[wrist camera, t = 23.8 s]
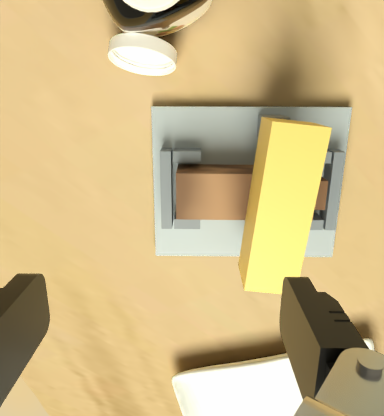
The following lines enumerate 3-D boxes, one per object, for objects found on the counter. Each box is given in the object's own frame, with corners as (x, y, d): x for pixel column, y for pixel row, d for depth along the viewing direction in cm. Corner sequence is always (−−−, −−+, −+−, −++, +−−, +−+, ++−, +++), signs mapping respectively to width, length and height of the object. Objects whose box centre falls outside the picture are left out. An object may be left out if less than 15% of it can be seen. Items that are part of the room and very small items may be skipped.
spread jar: (196, -64, 36) (195, -131, 25) (229, 53, 40) (241, 38, 28) (86, -19, 38) (39, -65, 27) (126, 90, 41) (100, 89, 30)
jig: (156, 251, 47) (151, 273, 41) (152, 106, 41) (145, 108, 36) (328, 253, 46) (347, 275, 41) (347, 106, 41) (372, 109, 35)
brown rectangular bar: (178, 205, 44) (176, 219, 39) (178, 164, 42) (175, 173, 37) (312, 206, 43) (326, 220, 39) (317, 165, 42) (332, 174, 37)
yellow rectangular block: (238, 264, 40) (244, 290, 35) (261, 116, 35) (272, 121, 30) (282, 269, 40) (295, 295, 35) (312, 122, 36) (332, 127, 30)
